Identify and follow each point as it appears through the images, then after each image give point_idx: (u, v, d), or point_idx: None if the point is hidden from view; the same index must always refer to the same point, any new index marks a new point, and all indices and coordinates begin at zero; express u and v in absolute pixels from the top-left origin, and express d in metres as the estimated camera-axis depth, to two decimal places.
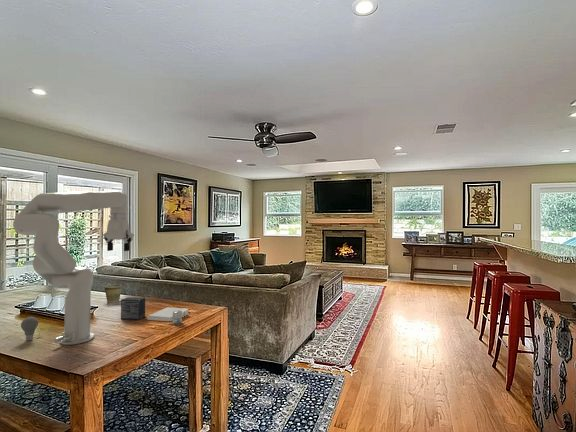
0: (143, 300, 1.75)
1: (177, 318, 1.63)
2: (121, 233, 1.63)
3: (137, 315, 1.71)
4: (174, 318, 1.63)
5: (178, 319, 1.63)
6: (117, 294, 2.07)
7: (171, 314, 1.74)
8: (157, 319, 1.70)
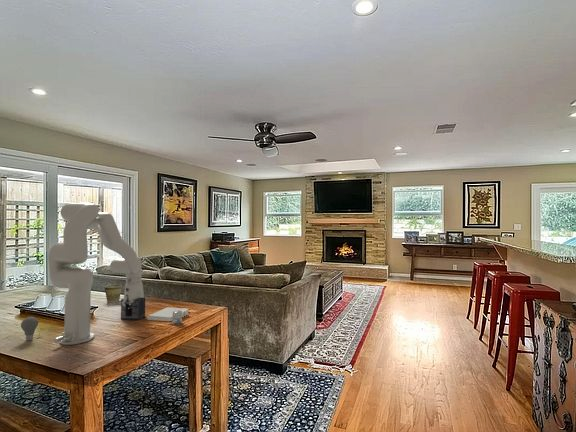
0: (143, 300, 1.75)
1: (177, 318, 1.63)
2: (142, 294, 1.78)
3: (137, 315, 1.71)
4: (174, 318, 1.63)
5: (178, 319, 1.63)
6: (117, 294, 2.07)
7: (171, 314, 1.74)
8: (157, 319, 1.70)
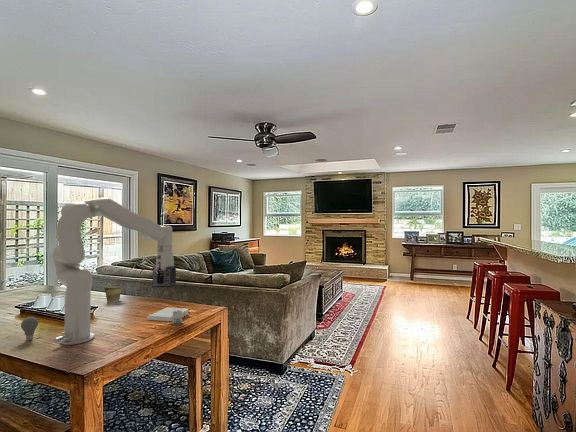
0: (174, 268, 1.75)
1: (177, 318, 1.63)
2: (173, 263, 1.78)
3: (169, 282, 1.71)
4: (174, 318, 1.63)
5: (178, 319, 1.63)
6: (117, 294, 2.07)
7: (171, 314, 1.74)
8: (157, 319, 1.70)
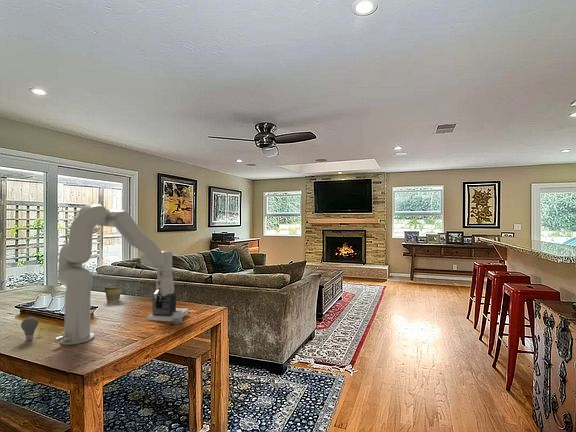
0: (174, 296, 1.75)
1: (177, 318, 1.63)
2: (173, 288, 1.78)
3: (168, 311, 1.71)
4: (174, 318, 1.63)
5: (178, 319, 1.63)
6: (117, 294, 2.07)
7: None
8: (157, 319, 1.70)
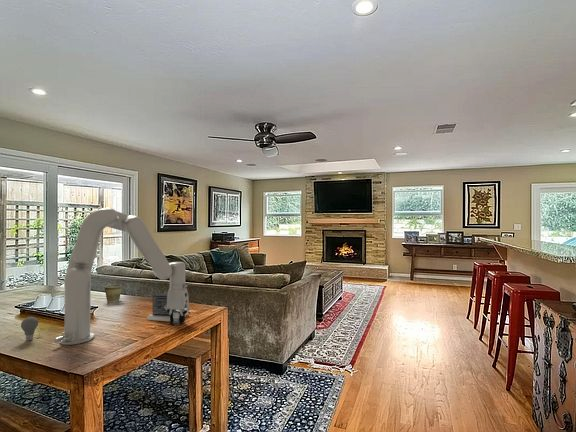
0: None
1: (177, 318, 1.63)
2: None
3: None
4: (174, 318, 1.63)
5: (178, 319, 1.63)
6: (117, 294, 2.07)
7: None
8: (157, 319, 1.70)
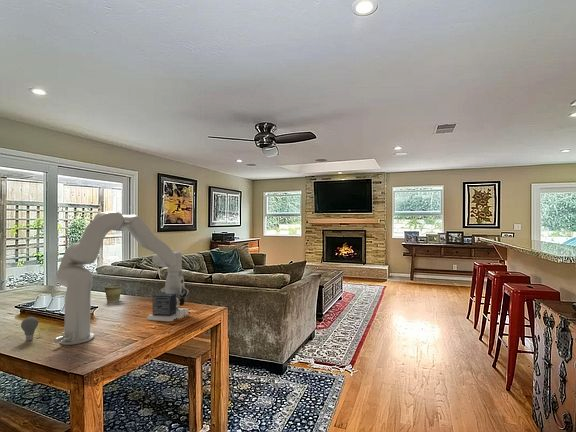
0: (174, 296, 1.75)
1: None
2: None
3: (168, 311, 1.71)
4: None
5: None
6: (117, 294, 2.07)
7: None
8: (157, 319, 1.70)
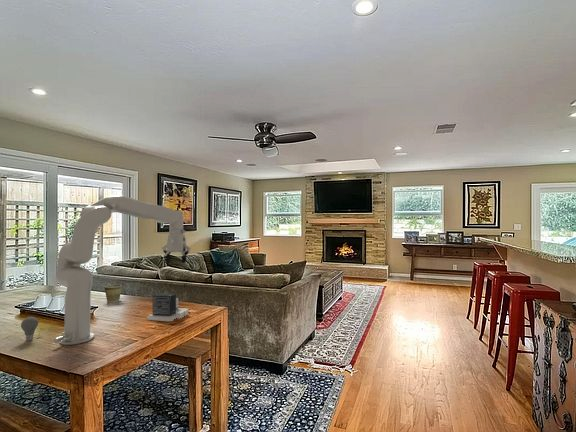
0: (174, 296, 1.75)
1: None
2: None
3: (168, 311, 1.71)
4: None
5: None
6: (117, 294, 2.07)
7: None
8: (157, 319, 1.70)
